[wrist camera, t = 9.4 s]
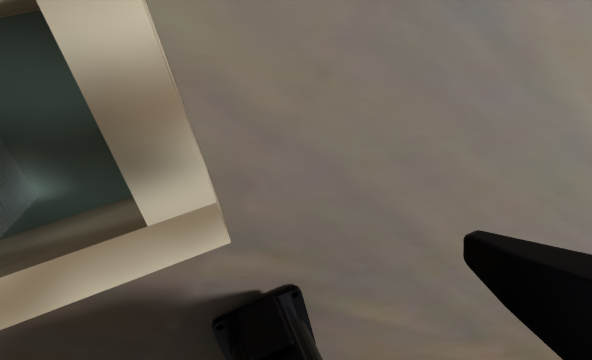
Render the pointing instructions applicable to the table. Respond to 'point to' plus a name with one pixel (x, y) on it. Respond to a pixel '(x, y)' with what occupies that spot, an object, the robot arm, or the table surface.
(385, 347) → the table surface
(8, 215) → the grey rectangular block
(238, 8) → the table surface
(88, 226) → the well
